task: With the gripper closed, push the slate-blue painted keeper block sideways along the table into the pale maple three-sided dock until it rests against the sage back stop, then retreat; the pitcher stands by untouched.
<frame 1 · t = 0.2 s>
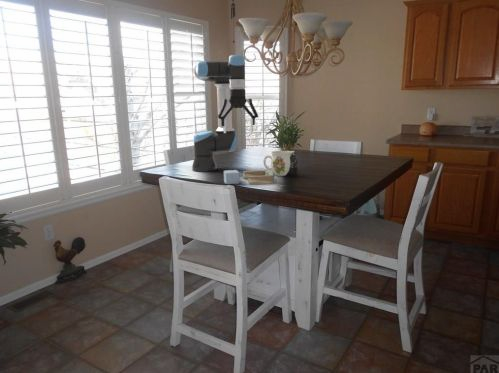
hand: (238, 132, 198), 27 cm above the table, fingers open, 13 cm apart
pitcher: (278, 174, 230), on the table
dock: (256, 180, 215), on the table
keeper: (231, 182, 212), on the table
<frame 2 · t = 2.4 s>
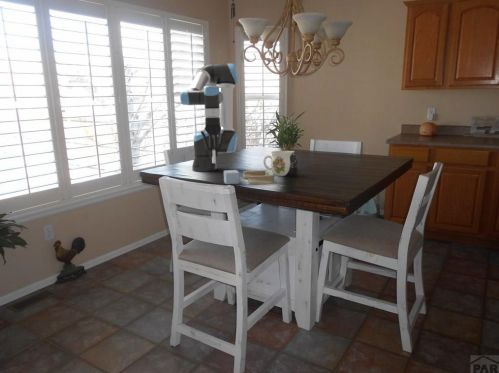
hand: (213, 162, 207), 11 cm above the table, fingers closed
nothing on the table moved.
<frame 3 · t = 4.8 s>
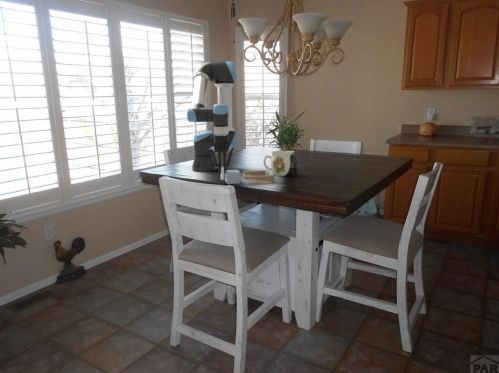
hand: (222, 179, 210), 2 cm above the table, fingers closed
keeper: (232, 182, 212), on the table, touching gripper
everything else where it was.
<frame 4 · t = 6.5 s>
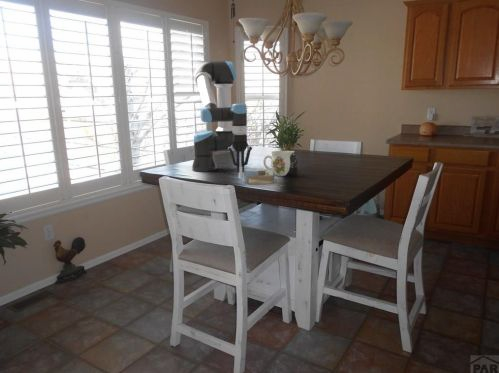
hand: (240, 178, 212), 2 cm above the table, fingers closed
keeper: (250, 181, 214), on the table, touching gripper
everything else where it was.
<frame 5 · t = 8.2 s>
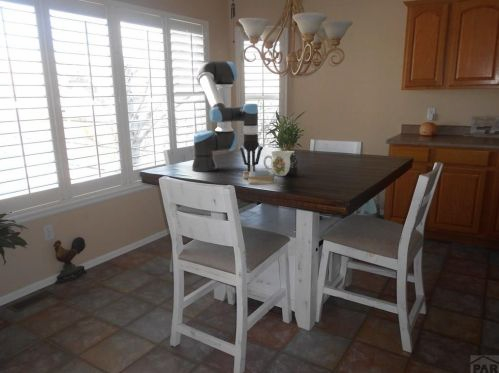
hand: (251, 177, 214), 2 cm above the table, fingers closed
keeper: (261, 180, 215), on the table, touching gripper
everything else where it was.
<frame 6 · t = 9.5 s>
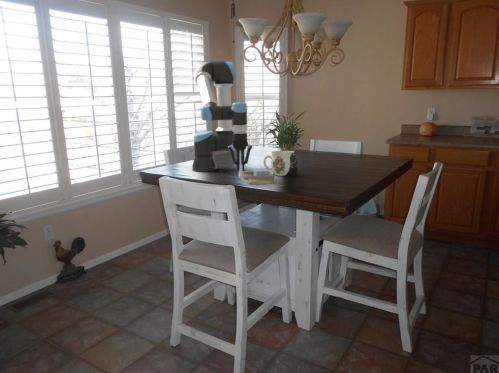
hand: (240, 176, 213), 3 cm above the table, fingers closed
keeper: (261, 180, 215), on the table
everything else where it was.
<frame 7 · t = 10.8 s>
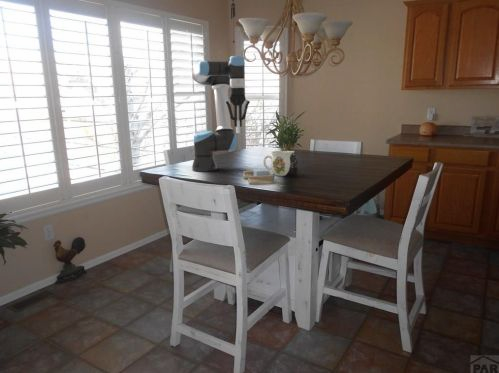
hand: (238, 132, 211), 26 cm above the table, fingers closed
nothing on the table moved.
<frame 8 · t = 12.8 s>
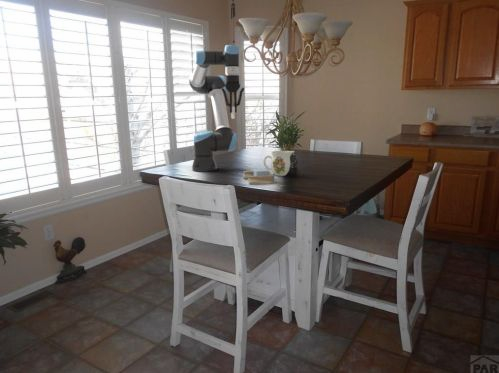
hand: (233, 118, 222), 32 cm above the table, fingers closed
nothing on the table moved.
at the end: keeper inside the target area on the dock (1.4 cm from its centre), point 0.0 cm above the dock's base; keeper tilted 0°; keeper moved 16.4 cm from its start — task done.
